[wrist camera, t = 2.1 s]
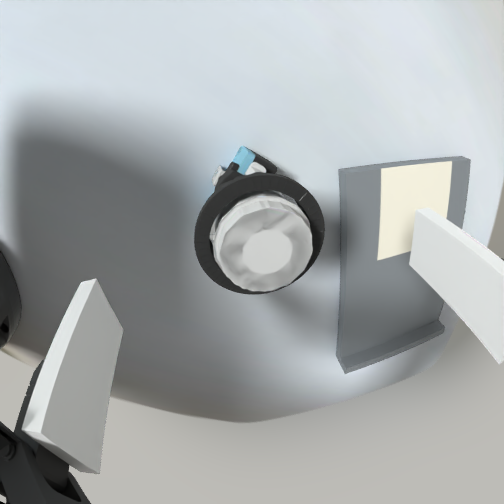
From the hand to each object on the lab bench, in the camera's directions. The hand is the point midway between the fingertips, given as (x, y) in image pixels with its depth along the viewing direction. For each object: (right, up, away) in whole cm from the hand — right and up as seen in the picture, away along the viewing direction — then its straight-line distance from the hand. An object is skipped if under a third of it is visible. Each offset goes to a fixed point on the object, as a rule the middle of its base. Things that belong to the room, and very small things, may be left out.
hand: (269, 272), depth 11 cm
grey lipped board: (+14, -1, +15) cm, 21 cm away
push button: (-2, +5, +9) cm, 11 cm away
